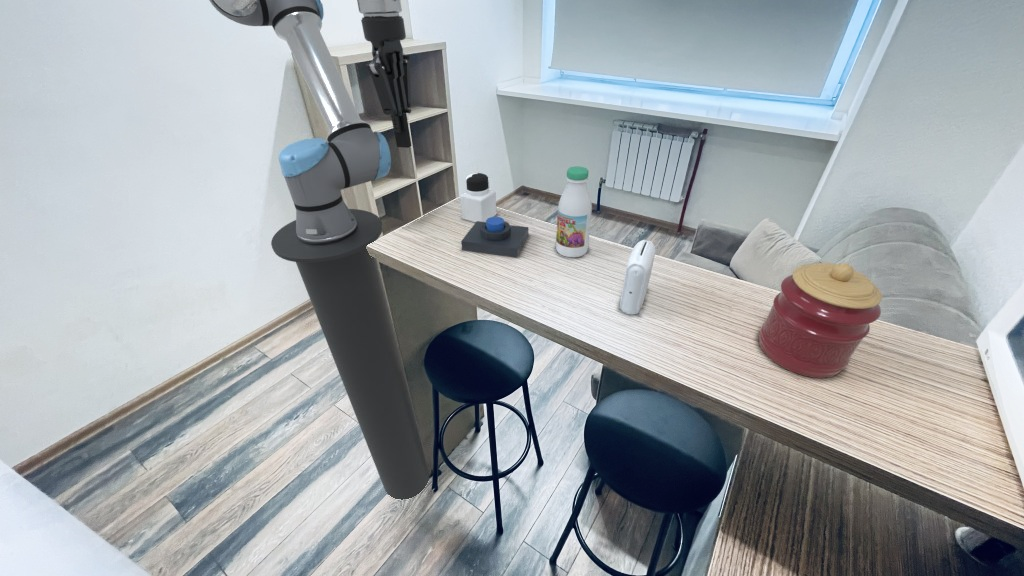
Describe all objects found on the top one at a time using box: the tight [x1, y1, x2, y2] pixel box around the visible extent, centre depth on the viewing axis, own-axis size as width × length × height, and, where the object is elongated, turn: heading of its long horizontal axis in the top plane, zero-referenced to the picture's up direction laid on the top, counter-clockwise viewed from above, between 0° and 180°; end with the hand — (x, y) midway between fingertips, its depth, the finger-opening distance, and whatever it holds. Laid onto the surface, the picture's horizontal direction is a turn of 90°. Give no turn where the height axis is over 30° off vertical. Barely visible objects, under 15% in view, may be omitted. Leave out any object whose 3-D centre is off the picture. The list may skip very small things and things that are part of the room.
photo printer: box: [619, 239, 656, 315], centre depth 79 cm, size 10×4×12 cm, turn 155°
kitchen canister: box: [758, 262, 883, 379], centre depth 65 cm, size 13×13×18 cm
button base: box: [461, 220, 529, 258], centre depth 101 cm, size 14×11×4 cm
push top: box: [486, 216, 505, 232], centre depth 99 cm, size 4×4×2 cm
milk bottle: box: [555, 166, 593, 258], centre depth 93 cm, size 8×8×20 cm
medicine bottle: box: [459, 172, 498, 223], centre depth 111 cm, size 7×7×12 cm
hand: (404, 146), depth 88 cm, fingers closed
